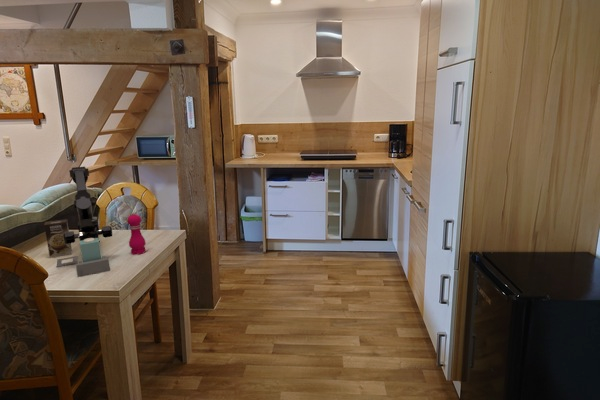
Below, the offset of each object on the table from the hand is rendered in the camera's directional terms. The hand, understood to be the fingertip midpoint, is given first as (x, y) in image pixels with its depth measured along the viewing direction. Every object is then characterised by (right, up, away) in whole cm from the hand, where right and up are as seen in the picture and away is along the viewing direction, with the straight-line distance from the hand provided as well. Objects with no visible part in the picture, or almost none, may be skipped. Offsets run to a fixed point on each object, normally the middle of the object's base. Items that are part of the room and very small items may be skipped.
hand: (91, 251), depth 169 cm
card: (-14, -6, +7) cm, 17 cm away
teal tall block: (+2, -7, -1) cm, 7 cm away
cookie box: (-23, -4, +17) cm, 29 cm away
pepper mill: (+14, -3, +17) cm, 22 cm away
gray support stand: (+2, -7, -2) cm, 8 cm away
